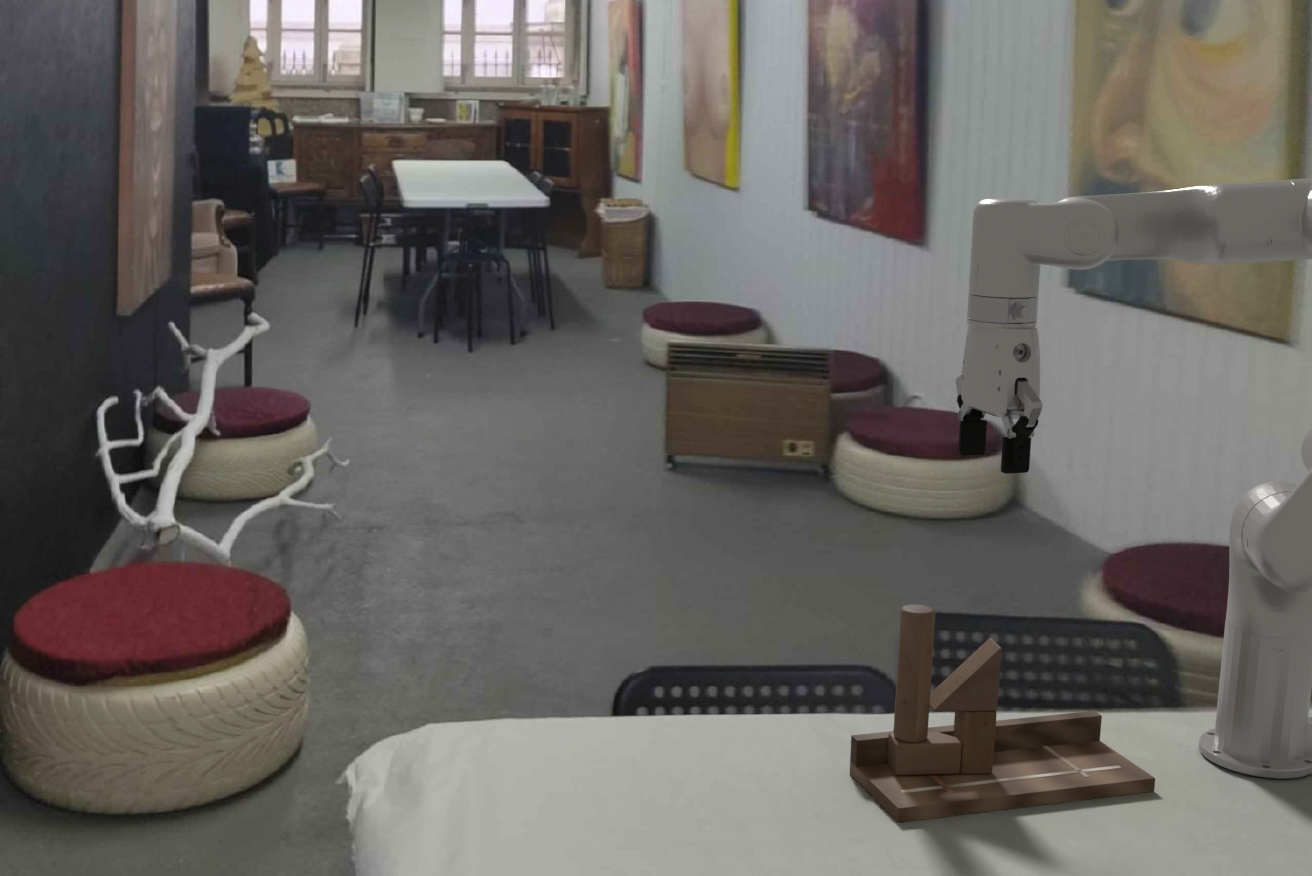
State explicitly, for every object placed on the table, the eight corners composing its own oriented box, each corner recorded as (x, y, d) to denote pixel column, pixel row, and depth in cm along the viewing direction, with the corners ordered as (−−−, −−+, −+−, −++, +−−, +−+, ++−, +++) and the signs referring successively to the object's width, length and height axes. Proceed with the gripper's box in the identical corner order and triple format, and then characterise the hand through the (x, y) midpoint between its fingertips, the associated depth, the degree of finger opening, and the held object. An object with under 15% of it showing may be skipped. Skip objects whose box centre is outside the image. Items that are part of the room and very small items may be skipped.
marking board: (1091, 748, 170) (1094, 710, 169) (1154, 791, 159) (1157, 751, 158) (849, 774, 161) (851, 735, 161) (897, 822, 150) (899, 780, 149)
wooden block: (993, 775, 158) (1005, 613, 155) (895, 777, 157) (904, 614, 154) (982, 761, 162) (993, 602, 158) (885, 763, 161) (895, 603, 157)
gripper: (1075, 320, 157) (1063, 478, 160) (993, 303, 173) (984, 447, 176) (1011, 321, 155) (1001, 481, 158) (935, 303, 171) (927, 449, 174)
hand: (992, 463), depth 167 cm, fingers open, 9 cm apart
